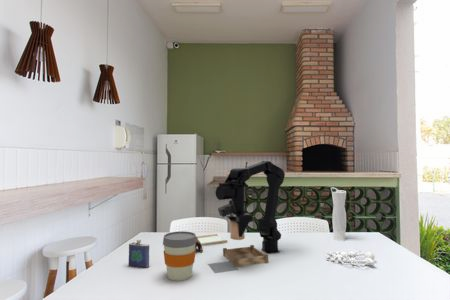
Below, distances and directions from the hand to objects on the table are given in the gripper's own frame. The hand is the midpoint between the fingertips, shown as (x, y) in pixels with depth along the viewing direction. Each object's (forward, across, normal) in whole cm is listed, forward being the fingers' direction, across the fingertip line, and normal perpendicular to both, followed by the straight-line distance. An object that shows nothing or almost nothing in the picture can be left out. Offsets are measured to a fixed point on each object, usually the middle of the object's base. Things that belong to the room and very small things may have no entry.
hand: (237, 234), depth 123 cm
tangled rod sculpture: (+11, +17, +46) cm, 50 cm away
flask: (+12, -10, -40) cm, 43 cm away
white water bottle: (+10, -13, +65) cm, 67 cm away
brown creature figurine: (+12, -20, -14) cm, 28 cm away
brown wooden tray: (+11, -2, +4) cm, 12 cm away
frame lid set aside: (+11, -34, -2) cm, 36 cm away
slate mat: (+12, +3, -8) cm, 14 cm away
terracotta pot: (+1, 0, 0) cm, 1 cm away
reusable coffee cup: (+12, +5, -26) cm, 29 cm away
